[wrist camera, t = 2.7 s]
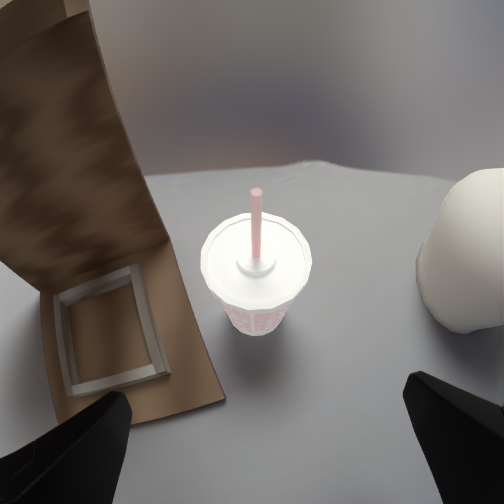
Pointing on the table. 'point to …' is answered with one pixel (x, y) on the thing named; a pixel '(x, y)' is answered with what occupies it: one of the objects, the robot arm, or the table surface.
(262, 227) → the beverage cup
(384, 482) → the table surface
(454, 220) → the vase
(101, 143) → the wooden headphone stand
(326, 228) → the table surface
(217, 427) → the table surface
